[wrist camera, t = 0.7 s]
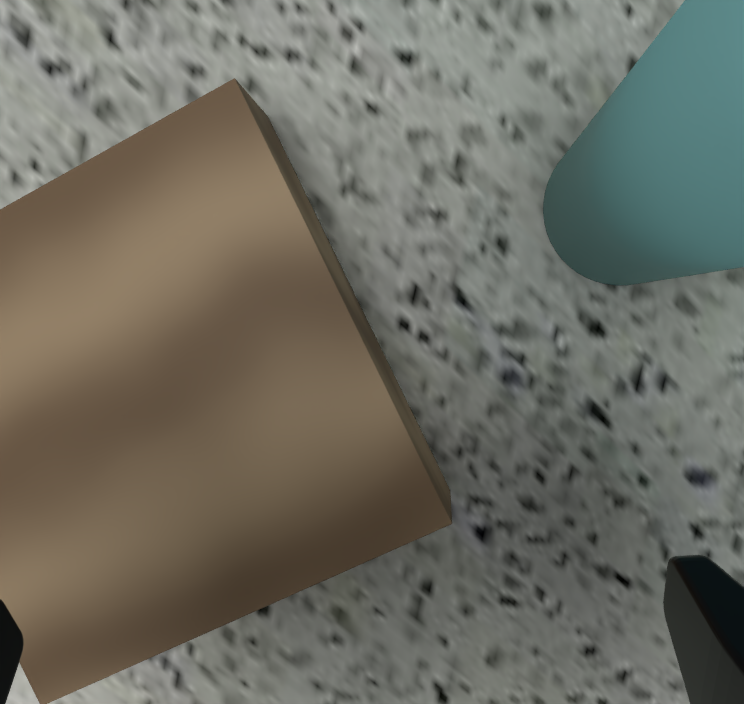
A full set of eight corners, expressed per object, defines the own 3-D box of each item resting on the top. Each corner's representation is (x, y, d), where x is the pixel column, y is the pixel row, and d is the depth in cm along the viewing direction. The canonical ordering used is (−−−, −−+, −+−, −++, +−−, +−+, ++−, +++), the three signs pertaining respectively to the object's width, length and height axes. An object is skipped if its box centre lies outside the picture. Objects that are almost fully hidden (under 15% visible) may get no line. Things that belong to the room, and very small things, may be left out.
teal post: (732, 241, 20) (1236, 115, 7) (584, 311, 21) (815, 306, 8) (663, 98, 20) (1049, -276, 7) (517, 172, 21) (640, -55, 8)
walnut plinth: (450, 490, 22) (451, 523, 18) (100, 648, 23) (41, 706, 20) (267, 116, 22) (234, 78, 18) (-71, 301, 23) (-160, 298, 20)
